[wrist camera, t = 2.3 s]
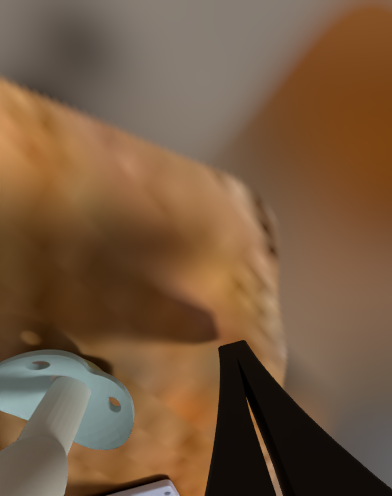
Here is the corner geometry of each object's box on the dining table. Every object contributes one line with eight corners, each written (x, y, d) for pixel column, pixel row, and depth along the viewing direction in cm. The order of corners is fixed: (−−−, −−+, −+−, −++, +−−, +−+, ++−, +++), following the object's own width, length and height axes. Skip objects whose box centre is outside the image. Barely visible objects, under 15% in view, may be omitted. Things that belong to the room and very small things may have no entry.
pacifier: (94, 426, 13) (154, 378, 12) (22, 632, 7) (126, 579, 6) (-18, 376, 11) (42, 312, 10) (-254, 614, 5) (-175, 525, 4)
